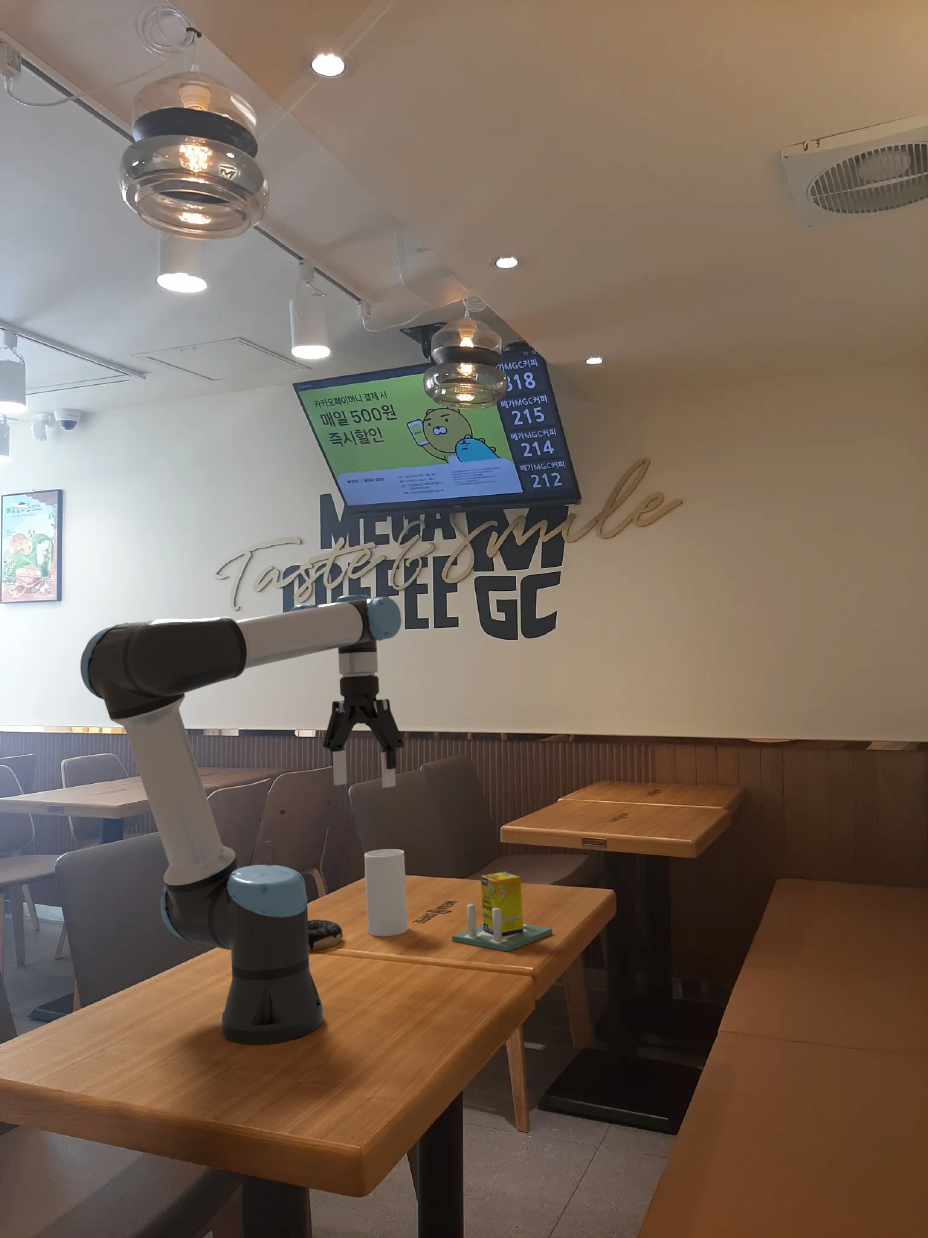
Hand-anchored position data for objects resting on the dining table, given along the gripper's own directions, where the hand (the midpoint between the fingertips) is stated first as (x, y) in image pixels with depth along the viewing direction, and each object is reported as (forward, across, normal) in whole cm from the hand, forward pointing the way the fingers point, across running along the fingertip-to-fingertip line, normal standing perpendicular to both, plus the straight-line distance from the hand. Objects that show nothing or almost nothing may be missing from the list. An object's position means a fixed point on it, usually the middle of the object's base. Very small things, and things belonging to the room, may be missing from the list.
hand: (364, 785), depth 185 cm
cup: (+32, +9, -13) cm, 36 cm away
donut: (+32, +16, +1) cm, 36 cm away
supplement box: (+31, -15, -21) cm, 40 cm away
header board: (+32, -15, -21) cm, 41 cm away
